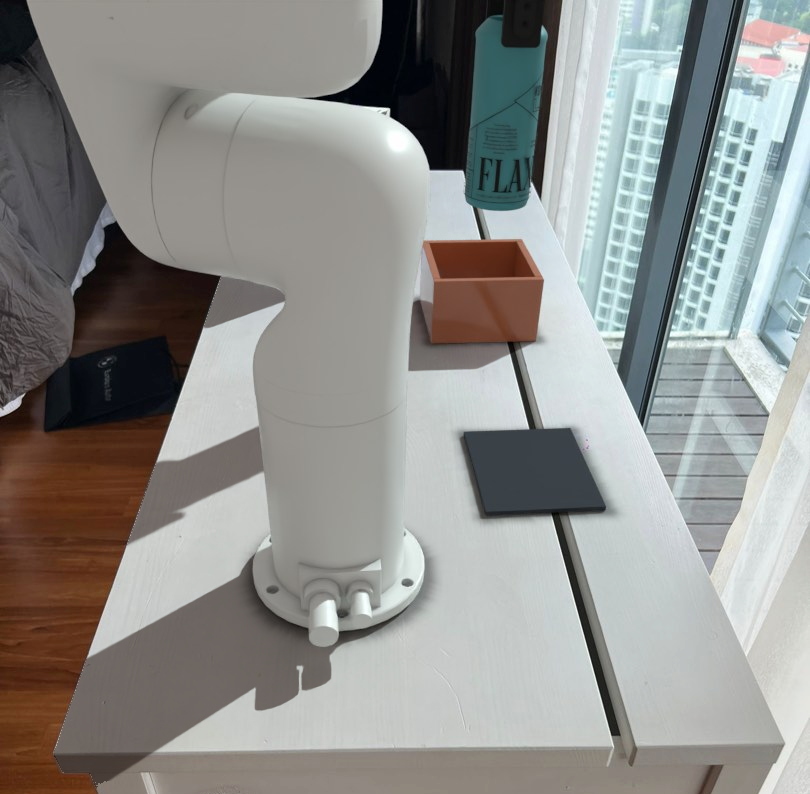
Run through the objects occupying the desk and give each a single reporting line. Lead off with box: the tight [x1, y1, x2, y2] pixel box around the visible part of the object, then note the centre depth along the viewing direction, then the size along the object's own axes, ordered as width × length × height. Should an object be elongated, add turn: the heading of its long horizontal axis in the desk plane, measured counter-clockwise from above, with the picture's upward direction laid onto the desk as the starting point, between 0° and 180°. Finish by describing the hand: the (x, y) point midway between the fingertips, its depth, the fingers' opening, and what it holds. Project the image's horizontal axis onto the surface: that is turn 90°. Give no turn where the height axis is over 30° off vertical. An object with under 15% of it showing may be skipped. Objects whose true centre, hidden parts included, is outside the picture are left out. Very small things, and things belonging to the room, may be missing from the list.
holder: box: [419, 238, 545, 345], centre depth 94 cm, size 12×12×7 cm
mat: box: [463, 427, 607, 516], centre depth 73 cm, size 12×10×1 cm
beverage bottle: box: [463, 0, 549, 212], centre depth 75 cm, size 6×7×20 cm
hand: (511, 37), depth 72 cm, fingers closed on beverage bottle, 6 cm apart
